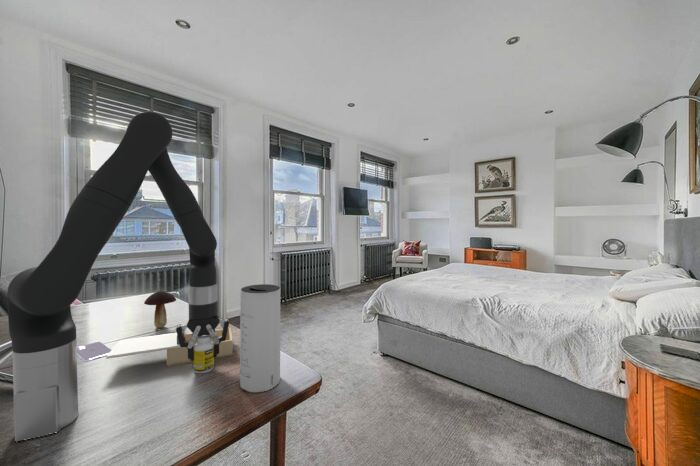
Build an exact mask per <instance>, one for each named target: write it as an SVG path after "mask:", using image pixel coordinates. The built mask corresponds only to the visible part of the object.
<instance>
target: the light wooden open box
mask: <svg viewBox="0 0 700 466" xmlns="http://www.w3.org/2000/svg"><path fill="white" fill-rule="evenodd" d="M215 331H216V333H217V335H218V337H220V336H222V331H223V328H219V329H215ZM191 335H192V332H190V333H186V334H185V340H186V341H189V340H190V338H191ZM211 341H212V342H213V343H214V340H213V339H211ZM195 344H197V343H196V340H195V342H194V344H193V345H195ZM233 354H234V353H233V335H232V328H231V327H228V331H227V336H226V340H225V341H222V342H220V343H219V354H217V357H214V360H215V359H221V358H227V357H232V356H233ZM191 363H193V361H191V359H188V349H187V348H186V347H181V348H174V349H168V350H166V367H167V368H168V367H169V368H170V367H174V366H179V365H180V366H181V365H185V364H191Z"/></svg>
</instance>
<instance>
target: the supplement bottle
mask: <svg viewBox="0 0 700 466" xmlns="http://www.w3.org/2000/svg"><path fill="white" fill-rule="evenodd" d="M211 339H212V337H211V335H203V336H199V337H198V336H197V337H196V343H197V344H195V345H194V348H193V364H192V365H193V368H192V369H193V373H195V374H207V373H209V372H211V371H212V370H213V369H214V368H215V359H214V343H213V342H212V341H211Z"/></svg>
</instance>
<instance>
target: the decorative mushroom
mask: <svg viewBox="0 0 700 466" xmlns="http://www.w3.org/2000/svg"><path fill="white" fill-rule="evenodd" d="M176 301H177V298H176V297H175V295H173V294H172V293H170V292H167V291H163V290H159V291H155V292H154V293H152V294H150V295H149V296H148V297H147V298H146V299H145V300H144V303H143V305H146V306H155V308H154V309H155V310H154V318H153V320H154V321H153V325H154V327H155V328H156V329H163V328H165V327H166V326H167V323H168V320H167V316H168V315H167V311H166V310H167V309H166V306H165V304H170V303H174V302H176Z"/></svg>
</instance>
